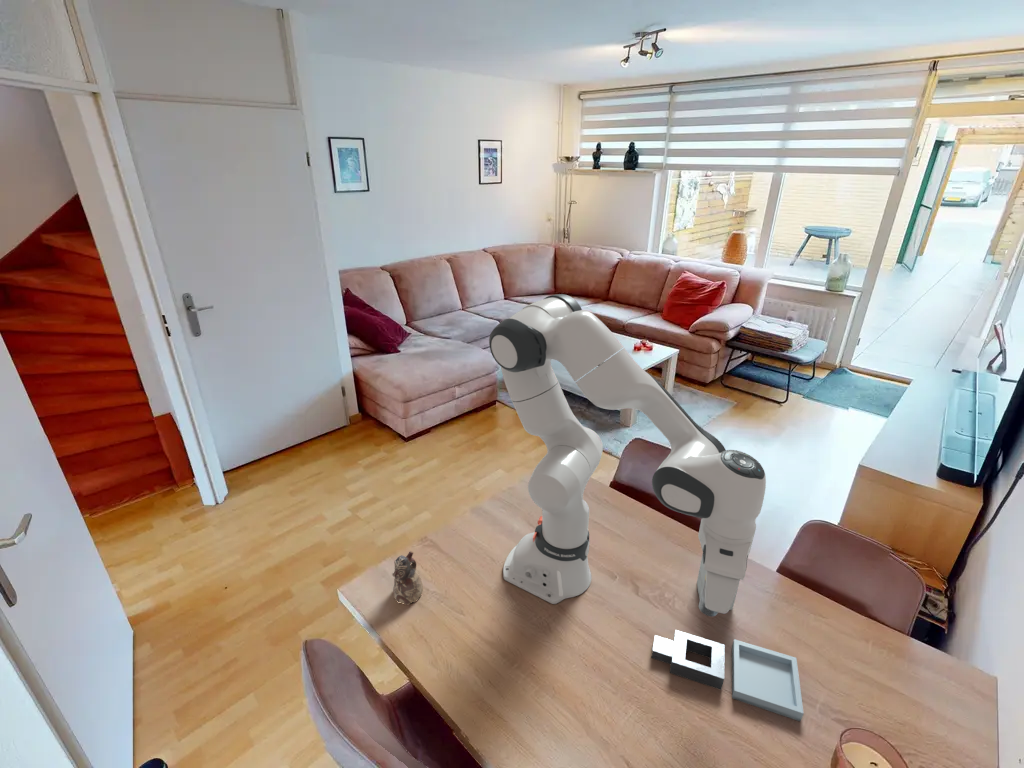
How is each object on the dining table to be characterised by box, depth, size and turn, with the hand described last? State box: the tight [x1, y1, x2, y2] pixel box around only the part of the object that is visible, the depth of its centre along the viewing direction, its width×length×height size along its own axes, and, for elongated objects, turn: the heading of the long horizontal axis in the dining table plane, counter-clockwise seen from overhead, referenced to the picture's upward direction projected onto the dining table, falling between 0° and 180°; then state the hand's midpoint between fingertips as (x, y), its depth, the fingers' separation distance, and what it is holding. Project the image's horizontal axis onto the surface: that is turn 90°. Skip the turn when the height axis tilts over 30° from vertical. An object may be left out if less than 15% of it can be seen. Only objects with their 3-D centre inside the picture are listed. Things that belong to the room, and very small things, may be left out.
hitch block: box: [651, 629, 726, 691], centre depth 104 cm, size 14×8×4 cm, turn 68°
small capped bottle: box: [698, 575, 719, 617], centre depth 95 cm, size 4×4×9 cm
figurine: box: [391, 550, 424, 604], centre depth 119 cm, size 7×7×12 cm
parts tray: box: [731, 638, 804, 722], centre depth 100 cm, size 12×12×2 cm
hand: (712, 589), depth 95 cm, fingers closed on small capped bottle, 4 cm apart
